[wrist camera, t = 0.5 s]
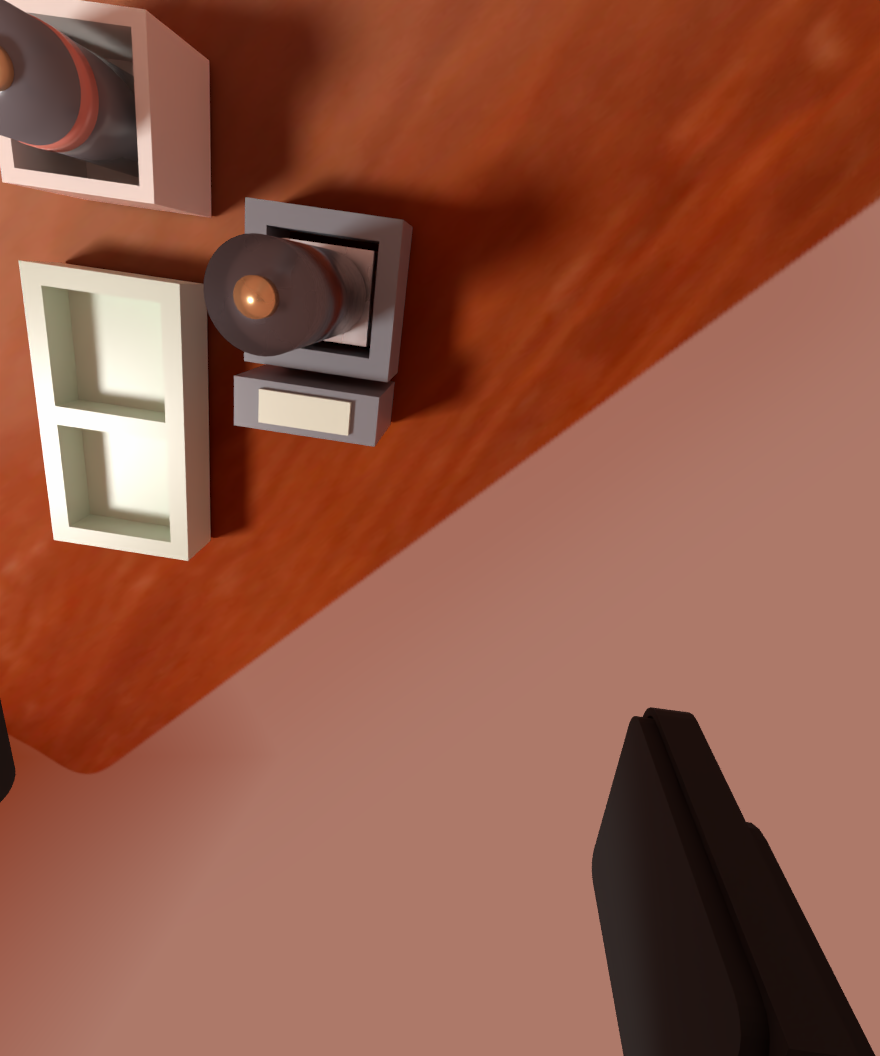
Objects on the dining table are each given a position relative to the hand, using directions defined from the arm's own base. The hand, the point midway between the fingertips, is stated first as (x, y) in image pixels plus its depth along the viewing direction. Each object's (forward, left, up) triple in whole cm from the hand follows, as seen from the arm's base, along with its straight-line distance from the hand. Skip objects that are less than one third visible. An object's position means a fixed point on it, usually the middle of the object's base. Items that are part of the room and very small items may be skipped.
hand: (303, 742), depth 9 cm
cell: (-5, -6, -24) cm, 25 cm away
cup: (-11, -16, -26) cm, 33 cm away
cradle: (-4, -6, -26) cm, 27 cm away
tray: (+3, -17, -26) cm, 32 cm away
